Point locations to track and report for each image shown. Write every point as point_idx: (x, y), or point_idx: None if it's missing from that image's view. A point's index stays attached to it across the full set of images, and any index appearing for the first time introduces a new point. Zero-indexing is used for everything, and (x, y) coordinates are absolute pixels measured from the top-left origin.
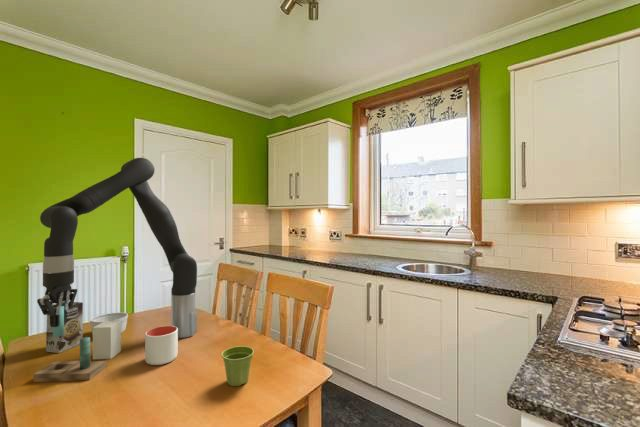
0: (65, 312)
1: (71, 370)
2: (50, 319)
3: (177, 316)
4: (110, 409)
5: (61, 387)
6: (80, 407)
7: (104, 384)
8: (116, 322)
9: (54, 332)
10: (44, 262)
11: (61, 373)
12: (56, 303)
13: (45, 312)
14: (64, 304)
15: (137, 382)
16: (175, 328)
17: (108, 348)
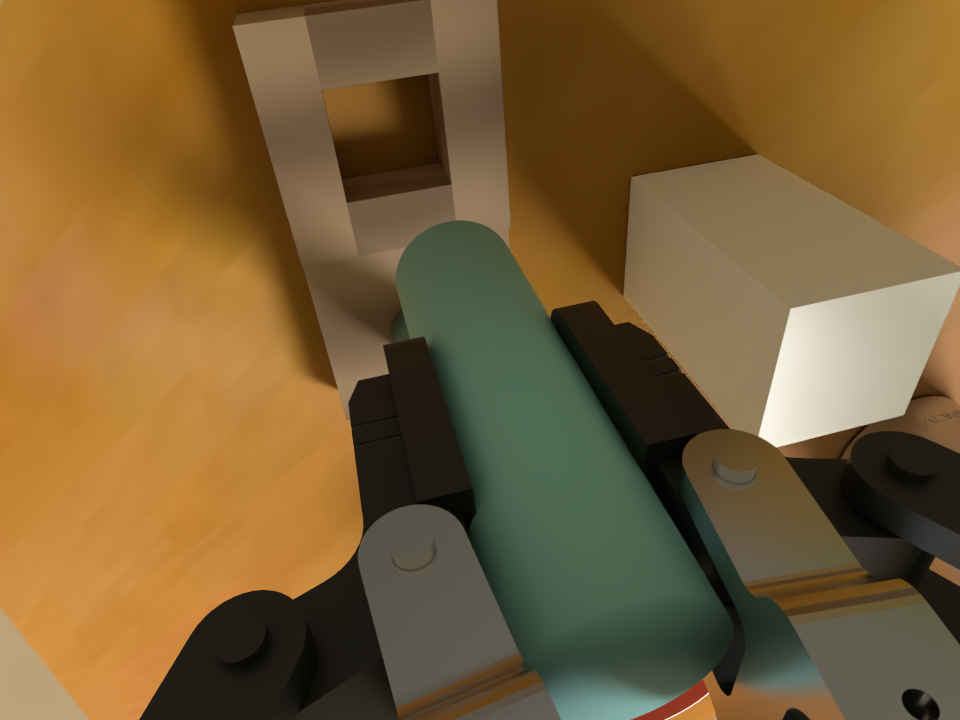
0: None
1: (366, 278)
2: (360, 481)
3: (947, 563)
4: (133, 646)
5: (226, 310)
6: (96, 553)
7: (312, 491)
8: (881, 404)
9: (403, 312)
10: None
11: (300, 261)
12: (780, 635)
13: (211, 708)
14: (722, 714)
15: None
16: (694, 691)
17: (659, 322)
